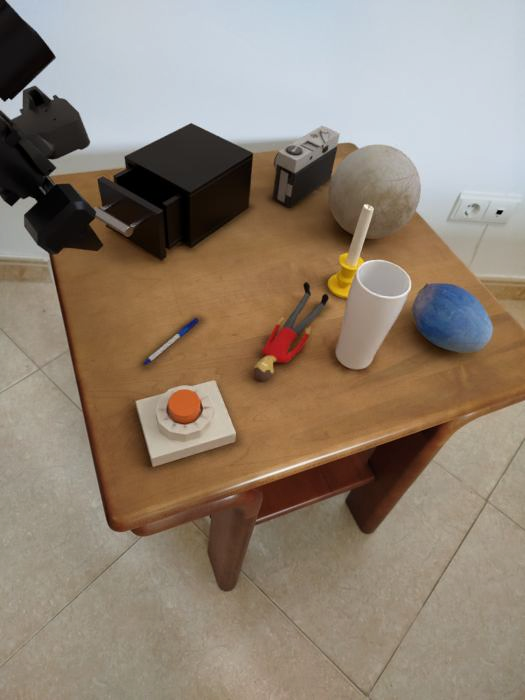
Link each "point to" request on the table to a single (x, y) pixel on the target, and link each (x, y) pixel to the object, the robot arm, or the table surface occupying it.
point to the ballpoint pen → (172, 340)
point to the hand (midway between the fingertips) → (82, 226)
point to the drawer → (143, 210)
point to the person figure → (286, 338)
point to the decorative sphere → (375, 189)
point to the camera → (304, 165)
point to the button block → (185, 425)
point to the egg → (451, 318)
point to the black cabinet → (200, 176)
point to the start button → (184, 406)
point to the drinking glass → (371, 311)
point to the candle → (351, 257)
